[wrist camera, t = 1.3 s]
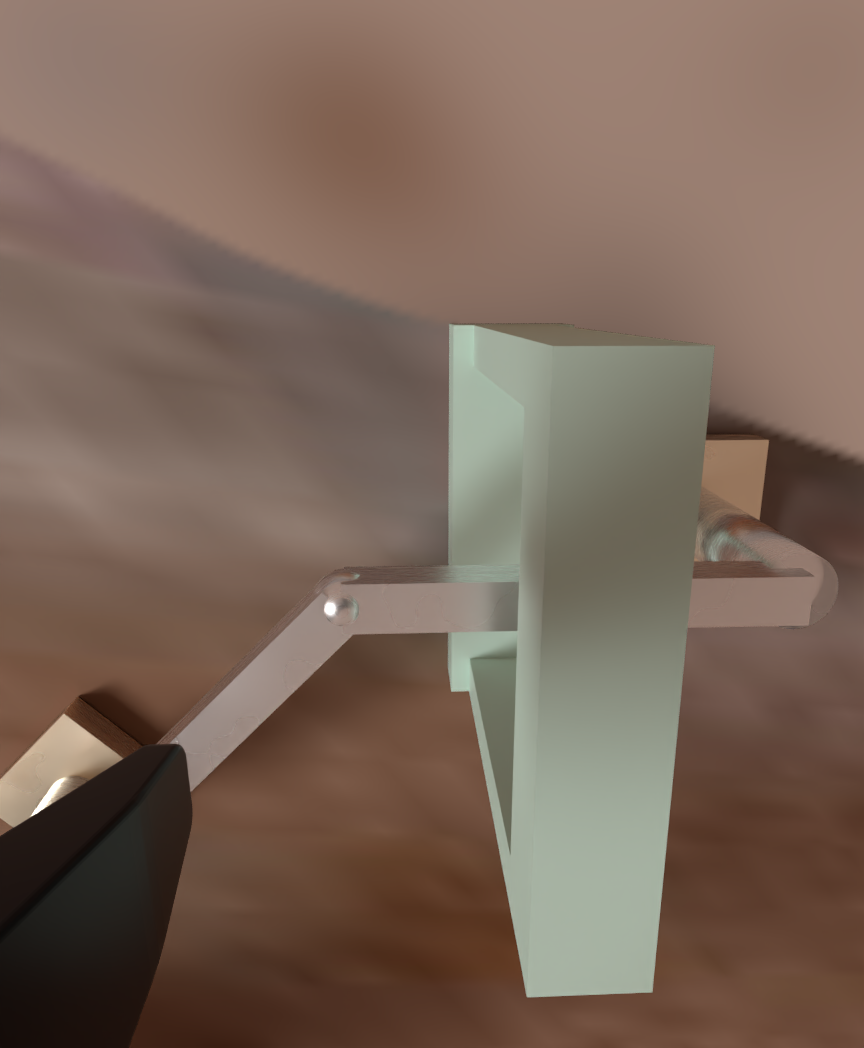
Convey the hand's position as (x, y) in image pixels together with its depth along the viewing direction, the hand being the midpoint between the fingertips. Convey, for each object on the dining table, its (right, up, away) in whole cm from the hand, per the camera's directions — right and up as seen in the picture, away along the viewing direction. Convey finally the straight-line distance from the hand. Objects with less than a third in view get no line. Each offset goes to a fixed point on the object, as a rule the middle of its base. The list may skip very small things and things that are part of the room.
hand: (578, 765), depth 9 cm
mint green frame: (0, +3, +13) cm, 13 cm away
